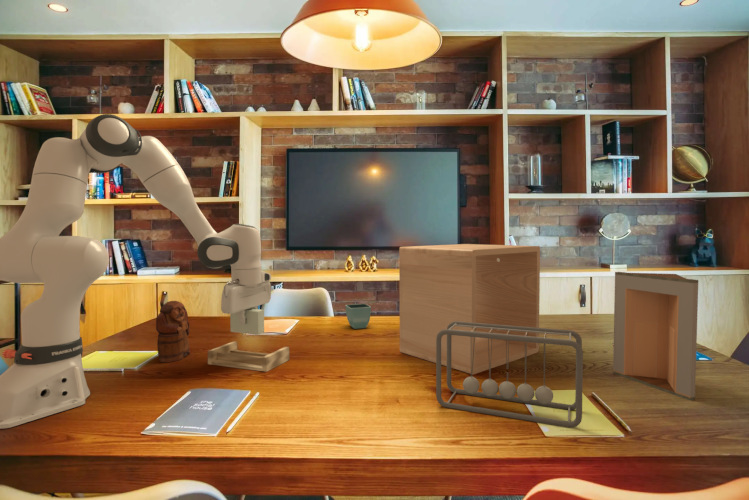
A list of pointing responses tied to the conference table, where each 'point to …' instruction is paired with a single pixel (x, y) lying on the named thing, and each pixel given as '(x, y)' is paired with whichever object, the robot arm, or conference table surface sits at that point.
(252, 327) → the cream rectangular block
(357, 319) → the flower pot
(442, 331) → the newton's cradle
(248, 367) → the track frame
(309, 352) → the conference table surface
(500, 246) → the storage cube
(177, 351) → the wooden figurine
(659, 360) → the cabinet
